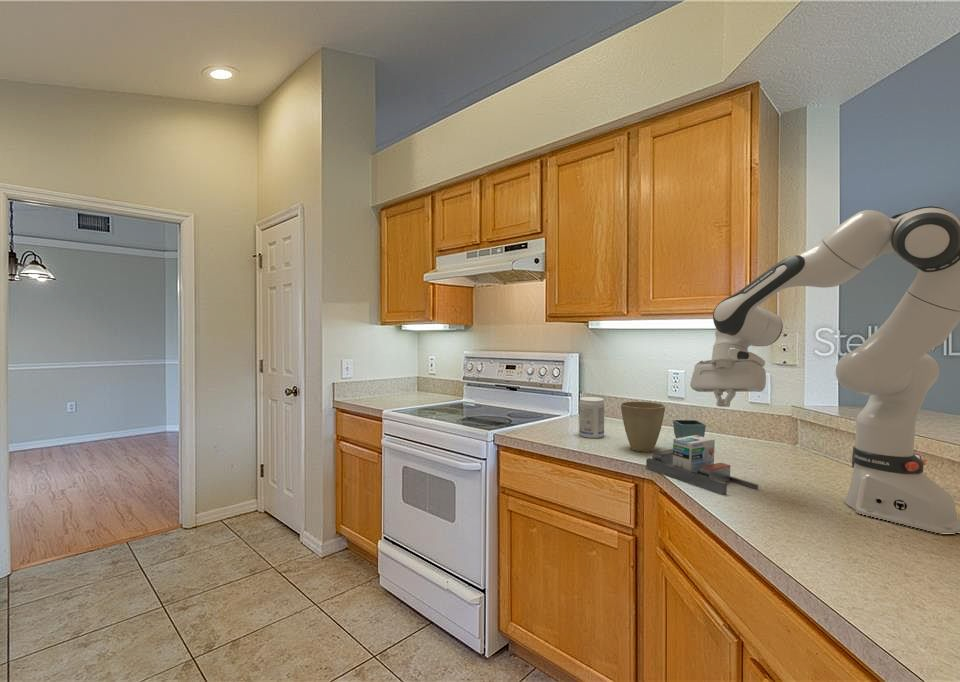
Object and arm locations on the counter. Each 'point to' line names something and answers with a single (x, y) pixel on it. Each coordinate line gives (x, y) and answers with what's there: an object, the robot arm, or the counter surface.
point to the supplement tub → (591, 417)
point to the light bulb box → (693, 452)
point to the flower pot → (688, 428)
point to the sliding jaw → (716, 471)
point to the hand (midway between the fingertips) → (722, 406)
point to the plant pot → (642, 424)
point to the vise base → (689, 473)
